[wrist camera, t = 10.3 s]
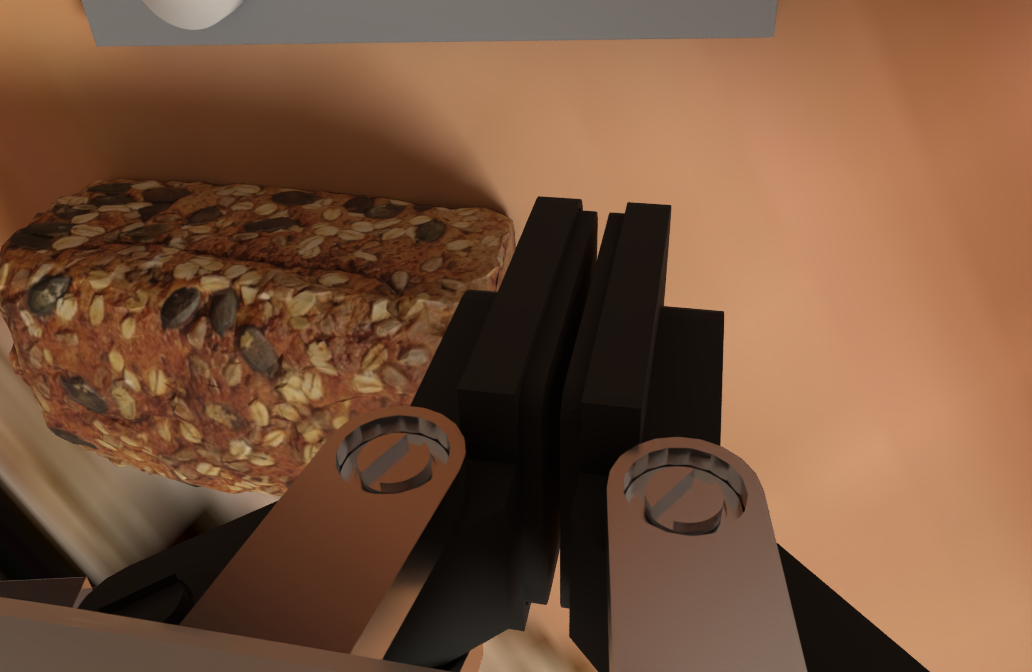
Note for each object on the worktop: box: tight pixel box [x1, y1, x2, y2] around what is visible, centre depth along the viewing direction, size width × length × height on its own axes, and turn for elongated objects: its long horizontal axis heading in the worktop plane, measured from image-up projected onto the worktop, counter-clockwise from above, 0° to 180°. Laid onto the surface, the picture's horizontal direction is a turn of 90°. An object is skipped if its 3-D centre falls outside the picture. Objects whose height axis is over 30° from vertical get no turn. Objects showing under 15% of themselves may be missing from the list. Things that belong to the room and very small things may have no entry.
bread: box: [0, 179, 516, 496], centre depth 35 cm, size 19×11×10 cm, turn 89°
